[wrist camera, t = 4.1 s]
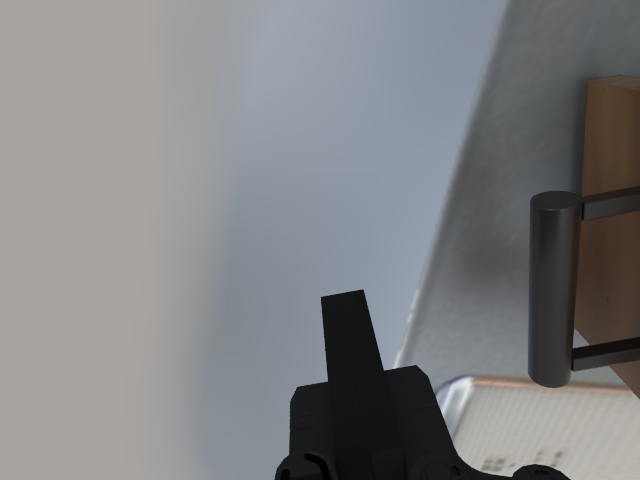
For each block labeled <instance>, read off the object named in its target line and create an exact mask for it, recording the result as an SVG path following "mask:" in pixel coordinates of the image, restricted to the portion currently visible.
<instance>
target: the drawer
mask: <svg viewBox="0 0 640 480" xmlns="http://www.w3.org/2000/svg"><path fill="white" fill-rule="evenodd" d="M574 328H575V329H576V330H577V331H578V332H579V333H580V334H581V335H582V337H583V338H584V339H585V340H586V341H587V342H588V343H589V344H590V345H589V346H584V347H578V348H573V335H574ZM603 366H610V367H611V368H612V369H613V371H614V372H615V373H616V374H617V375H618V376H619V377H620V378H621V379H622V380H623V382H624V383H625V384H626V385H627V386H628V387H629V388H630V389H631V390H632V391H633V393H634V394H635V395H636V396H637V397H638V398H639V399H640V78H637V77H631V76H624V75H616V76H611V77H606V78H601V79H596V80H591V81H589V82H588V97H587V112H586V127H585V142H584V157H583V173H582V188H581V197H580V196H579V195H577V194H575V193H571V192H566V191H548V192H543V193H539V194H537V195H535V196H533V197H532V198H531V200H530V255H529V328H528V374H529V376H530V378H531V379H532V380H533V381H534V382H535V383H537V384H539V385H541V386H544V387H548V388H559V387H562V386H565V385H566V384H567V383H568V382H569V381H570V378H571V370H572V371H574V372H575V371H581V370H586V369H592V368H598V367H603Z"/></svg>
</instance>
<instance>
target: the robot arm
mask: <svg viewBox="0 0 640 480" xmlns="http://www.w3.org/2000/svg"><path fill="white" fill-rule="evenodd" d="M321 305H322V316H323V328H324V338H325V351H326V362H327V374H328V382H323V383H317V384H311V385H306V386H300V387H297V389H296V391H295V393H294V395H293V397H292V399H291V401H290V444H289V456H287V457H286V458H285V459H284V460H283V461H282V463H281V464H280V465H279V467H278V468H277V471H276V475H275V480H570V479H569V478H568V477H567V476H565V475H564V474H563V473H562V472H560V471H558V470H556V469H554V468H551V467H549V466H545V465H537V464H532V465H527V466H523V467H521V468H520V469H518V470H517V471H516V472H514V474H513V476H512V477H506V476H499V475H492V474H488V473H483V472H480V471H478V470H476V469H474V468H472V467H470V466H469V465H468V464H466V463H465V462H464V461H463V460H462V459H461V458H460V457H459V455H458V454H457V452H456V450H455V448H454V445H453V442H452V440H451V437H450V434H449V432H448V429H447V426H446V424H445V421H444V418H443V416H442V413H441V410H440V408H439V405H438V402H437V400H436V397H435V394H434V392H433V389H432V386H431V383H430V381H429V378H428V376H427V375H426V374H425V373H424V372H423V371H422V370H421V369H420V368H419V367H418V366H417V365H414V366H408V367H402V368H396V369H391V370H385V371H384V369H383V365H382V361H381V358H380V353H379V350H378V345H377V342H376V338H375V333H374V329H373V326H372V321H371V317H370V313H369V309H368V306H367V301H366V298H365V294H364V290H357V291H351V292H346V293H340V294H335V295H329V296H324V297H321Z"/></svg>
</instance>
